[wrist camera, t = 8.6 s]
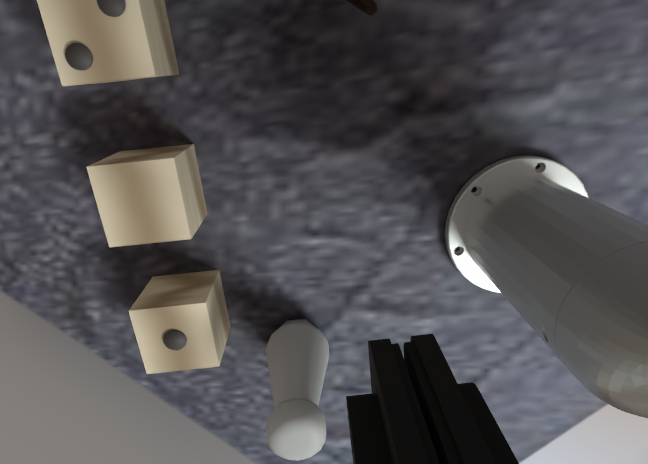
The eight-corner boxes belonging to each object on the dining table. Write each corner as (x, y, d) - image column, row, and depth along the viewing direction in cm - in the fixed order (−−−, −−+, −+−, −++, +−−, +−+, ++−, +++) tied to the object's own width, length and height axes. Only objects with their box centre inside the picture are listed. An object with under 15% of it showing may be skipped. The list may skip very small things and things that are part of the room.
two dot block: (161, -14, 32) (130, -31, 26) (179, 74, 34) (154, 76, 28) (78, -5, 32) (28, -21, 26) (102, 82, 34) (60, 86, 28)
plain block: (194, 143, 36) (173, 157, 30) (207, 213, 38) (191, 239, 32) (120, 151, 36) (86, 166, 30) (137, 220, 38) (109, 247, 32)
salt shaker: (314, 368, 44) (319, 484, 32) (259, 352, 43) (242, 464, 31) (336, 321, 42) (350, 424, 30) (280, 302, 41) (270, 401, 29)
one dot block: (219, 269, 40) (205, 303, 34) (230, 326, 42) (219, 367, 36) (152, 276, 40) (127, 312, 34) (167, 332, 42) (146, 375, 36)
